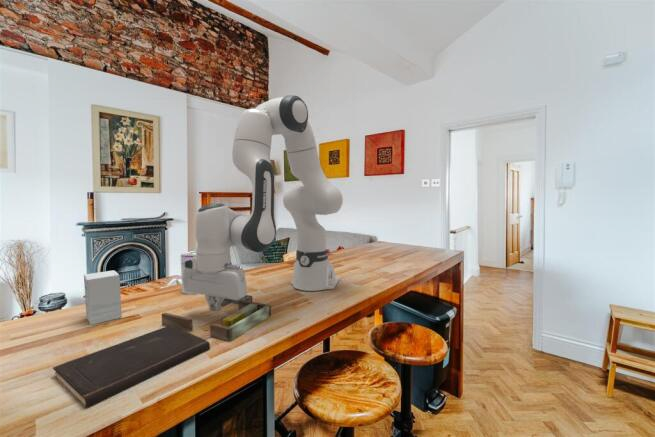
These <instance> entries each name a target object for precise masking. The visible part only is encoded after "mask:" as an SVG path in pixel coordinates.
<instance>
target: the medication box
mask: <svg viewBox="0 0 655 437" xmlns="http://www.w3.org/2000/svg"><path fill="white" fill-rule="evenodd" d="M256 311H258V304H249V305H247V306H246V307H244V308H242V309H240V310H239V309H237V311H235V312H233V313H232V314H229V315H228V316H226V317H225V318H223V319H222V326H227V327H230V326H232V325H233V324H235V323H237V322H239V321H240V320H242V319H244V318H246V317H247V316H249V315H251V314H253V313H254V312H256Z"/></svg>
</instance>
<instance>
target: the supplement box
mask: <svg viewBox="0 0 655 437" xmlns="http://www.w3.org/2000/svg"><path fill="white" fill-rule="evenodd" d="M120 277H121V276H120V274H119V273H118V272H117V271H116V270H107V271H100V272H93V273H86V274H83V284H84V297H85V298H84V301H85V318H86V319H87V322H88V323H90V324H89V326H93V325H96V324H99V323H100V324H101V323H106V322H108V321H113V320H117V319H121V318H123V317H122V316H123V315H122V296H121V278H120Z"/></svg>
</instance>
